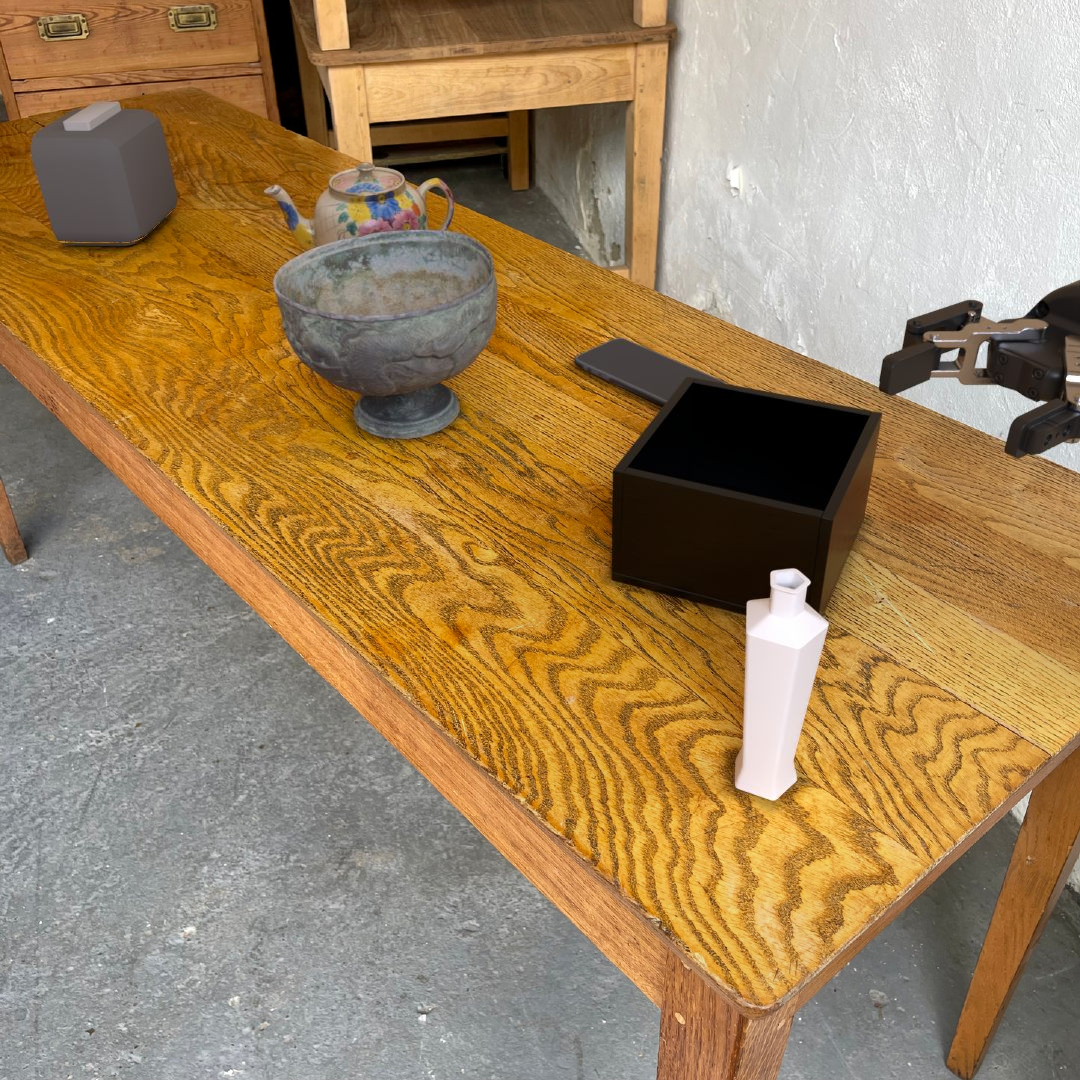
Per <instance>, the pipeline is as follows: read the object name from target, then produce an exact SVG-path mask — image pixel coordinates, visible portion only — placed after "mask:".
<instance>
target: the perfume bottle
mask: <svg viewBox="0 0 1080 1080" xmlns="http://www.w3.org/2000/svg"><path fill="white" fill-rule="evenodd" d="M810 583H811V581H810V580H809V579H808V578H807V577H806V576H804V575H803V574H802V573H801V572H800V571H799V570H797V569H783V570H775V571H772V572H771V574H770V585H771V594H770V598H765V599H757V600H750V601H748V602H747V616H746V618H745V619H746V620H745V621H746V622H745V623H746V624H745V649H744V650H745V653H744V656H745V657H744V685H743V687H744V690H743V692H744V693H743V718H742V720H743V724H742V725H743V726H742V745H741V748H740V749H739V751H738V754H737V755H736V757H735V760H734V761H735V764H734V787H735V788H736V789H738V790H740V791H743V792H747V793H748V794H752V795H755V796H757V797H760V798H763V799H766V800H769V801H777V800H778V799H779V798H780V797H781V796H782V795H783V794H784V793H785V792H787V790H788V789H790V788H791V787H792V786H793V785H794V784H795V783H796V782H797V781H798V775H797V771H796V765H795V756H796V752H797V748H798V745H799V741H800V738H801V737H800V736H801V733H802V729H803V725H804V721H805V718H806V715H807V710H808V707H809V702H810V698H811V694H812V691H813V687H814V683H815V680H816V675H817V672H818V668H819V664H820V660H821V656H822V653H823V649H824V645H825V641H826V637H827V634H828V629H829V626H830V624H829V621H828V620H827V619H826V618H824V616H823V617H822V616H821V615H819V614H818V613H817V612H816V611H815V610H814V609H813V608H812V607H810V606H809V605H808V604H807V603H806V602H805V598H806V591H807V586H809V585H810Z"/></svg>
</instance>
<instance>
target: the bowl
mask: <svg viewBox="0 0 1080 1080" xmlns="http://www.w3.org/2000/svg"><path fill="white" fill-rule="evenodd" d="M272 281H273V282H272V284H273V291H274V294H275V296H276V300H277V302H276V303H277V306H278V308H279V311H280V316H281V321H282V329H283V331H284V333H285V334H284V335H285V338H286V340H287V342H288V344H289V345H290V348H291V350H292V351H293V352H294V354H295V355H296V356H297V358H298V359H299V361H300V362H301V363H302V364H303V365H304V366H306V367H307V368H309V369H310V370H311V371H313V372H314V373H315V374H316V375H318V376H319V377H320V378H322V379H324V380H325V381H327V382H329V383H330V384H332V385H334V386H336V387H338V388H340V389H343V390H346V391H349V392H353V393H356V394H359V395H361V396H360V397H359V398H358V399H357V401H356V403H355V404H354V407H353V419H354V422H355V424H356V425H357V426H358V427H359V428H360V429H362V430H364V431H365V432H367V433H368V434H370V435H373V436H377V437H380V438H385V439H393V440H395V439H399V440H401V439H402V440H409V439H418V438H422V437H423V438H424V437H426V436H430V435H433V434H434V433H437V432H439V431H442V430H444V429H445V428H447V427H448V426H450V425H451V424H452V423H453V422H454V421H455V420H456V419H457V417H458V415H459V414H460V410H461V409H460V401H459V399H458V395H457V394H456V393H455V392H454V391H453V390H452V389H451V387H448V386H447V385H445V384H444V383H442V382H446V381H449V380H451V379H453V378H455V377H458V376H459V375H460V374H461V373H463V372H464V371H466V370H467V369H468V368H469V367H470V366H471V365H473V364H474V363H475V361H476V360H477V359H478V357H479V356H480V354H481V353H482V352H483V351H484V350H485V349H486V348H487V347H488V345H489V341H490V340H491V337H492V336H493V334H494V332H495V329H496V326H497V313H498V312H497V311H498V282H497V277H496V273H495V264H494V259H493V257H492V254H491V252H490V250H489V249H488V248H487V247H486V246H484V245H483V244H482V243H481V242H479V241H478V240H477V239H475V238H473V237H471V236H469V235H467V234H464V233H461V232H457V231H451V230H446V231H441V230H439V229H429V230H397V231H384V232H377V233H372V234H368V235H364V236H362V237H353V238H348V239H343V240H339V241H335V242H332V243H329V244H326V245H323V246H319V247H316V248H314V249H311V250H309V251H305V252H303V253H301V254H298V255H297V256H295V257H293V258H292V259H290V260H288V261H287V262H286V263H284V264H283V265H282V266H280V267H279V269H278V270H277V272H276V273H275V275H274V277H273V280H272Z"/></svg>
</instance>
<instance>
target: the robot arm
mask: <svg viewBox="0 0 1080 1080" xmlns="http://www.w3.org/2000/svg"><path fill="white" fill-rule="evenodd" d="M983 308H984V302H982V301H980V300H976V299H966V300H962V301H960V302H956V303H953V304H951V305H948V306H944V307H942V308H938V309H935V310H933V311H930V312H927V313H924V314H921V315H918V316H915V317H911V318H909V319H907V320H906V323H905V329H904V335H903V341H902V345H901V349H899V350H896V351H894V352H892V353H889V354H886V355H885V356H884V357H883V358H882V361H881V367H880V373H879V378H878V379H879V380H878V382H879V383H878V391H880V392H881V393H883V394H885V395H887V396H889V397H892V396H896V395H897V394H899V393H902V392H904V391H907V390H910V389H911V388H914V387H916V386H918V385H921V384H923V383H926V382H928V381H930V380H931V379H933V378H934V379H938V378H941V379H942V378H949V379H950V378H952V379H953V378H954V379H955V378H956V379H958V382H959V383H960V384H961V385H963V386H999V387H1002V388H1004V389H1008V390H1012V391H1014V392H1017V393H1018V394H1020V395H1021V396H1023V397H1024V398H1026V399H1028V400H1030V401H1033V402H1035V403H1039V402H1044V403H1043V404H1041V405H1039V406H1037V407H1035V408H1033V409H1031V410H1029V411H1027V412H1024V413H1022V414H1019V415H1018V416H1016V417H1015V418H1014V419H1013V420H1012V422H1011V423H1010V426H1009V430H1008V434H1007V436H1006V437H1007V438H1006V441H1005V445H1004V449H1003V452H1004V453H1005V454H1006V455H1008V456H1011V457H1012V458H1014V459H1016V460H1019V459H1022V458H1024V457H1026V456H1027V455H1029V456H1035V455H1041V454H1044V453H1045V452H1047V451H1049V450H1052V448H1055V447H1057V446H1058V445H1061V444H1063V443H1064V444H1069V445H1070V444H1072V445H1073V444H1078V443H1079V442H1080V279H1078V280H1076V281H1073V282H1071V283H1068V284H1065V285H1063V286H1061V287H1058V288H1055V289H1054V290H1052V291H1050V292H1049V293H1047V294H1045V296H1044V297H1042V298H1041V299H1040V300H1039V301H1037V303H1036V304H1035V305H1034V306H1033V307H1032V308H1031V309H1030V310H1029V311H1027V313H1026V314H1025V315H1024V316H1022V317H1016V318H1004V319H1000V320H999V321H997V322H996V321H994V320H992V319H990V318H987V317H984V316H983V315H982V313H983ZM985 342H986V343H987V352H986V367H976V366H977V365H976V364H977V361H978V355H979V350H980V347H981V346H982V345H983V343H985ZM957 349H958V352H957V357H956V358H955V359H954V360H949V361H947V360H946V361H945V360H943V361H941V358H942V355H944V354H947V353H949V352H953V351H955V350H957Z"/></svg>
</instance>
